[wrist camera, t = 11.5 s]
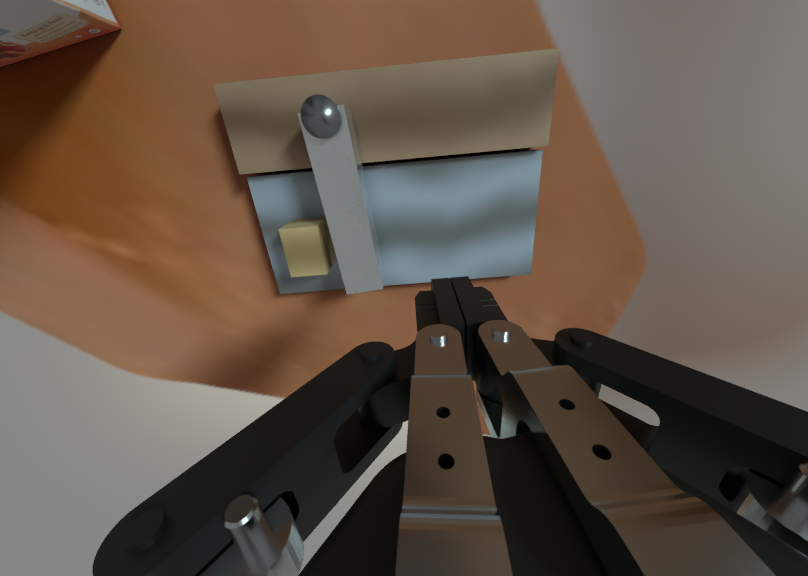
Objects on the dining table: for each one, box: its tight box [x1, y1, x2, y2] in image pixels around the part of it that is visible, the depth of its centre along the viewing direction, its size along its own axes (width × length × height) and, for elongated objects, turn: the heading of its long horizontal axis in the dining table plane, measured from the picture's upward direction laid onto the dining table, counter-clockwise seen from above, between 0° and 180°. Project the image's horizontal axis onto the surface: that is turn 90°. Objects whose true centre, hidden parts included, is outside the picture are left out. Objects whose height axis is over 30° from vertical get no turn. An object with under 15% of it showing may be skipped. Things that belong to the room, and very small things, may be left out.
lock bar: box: [297, 94, 385, 295], centre depth 23 cm, size 14×3×4 cm, turn 9°
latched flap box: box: [213, 49, 559, 294], centre depth 25 cm, size 17×24×6 cm
